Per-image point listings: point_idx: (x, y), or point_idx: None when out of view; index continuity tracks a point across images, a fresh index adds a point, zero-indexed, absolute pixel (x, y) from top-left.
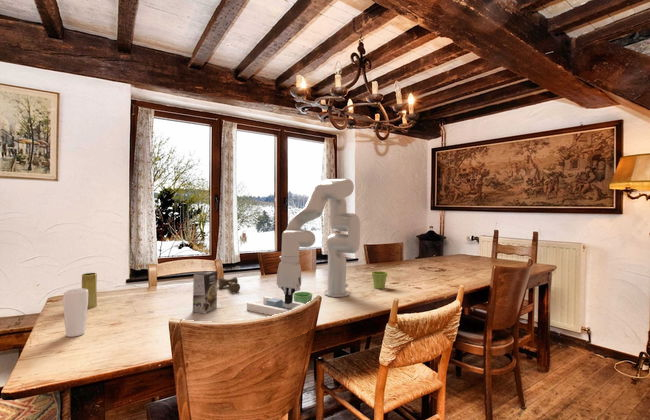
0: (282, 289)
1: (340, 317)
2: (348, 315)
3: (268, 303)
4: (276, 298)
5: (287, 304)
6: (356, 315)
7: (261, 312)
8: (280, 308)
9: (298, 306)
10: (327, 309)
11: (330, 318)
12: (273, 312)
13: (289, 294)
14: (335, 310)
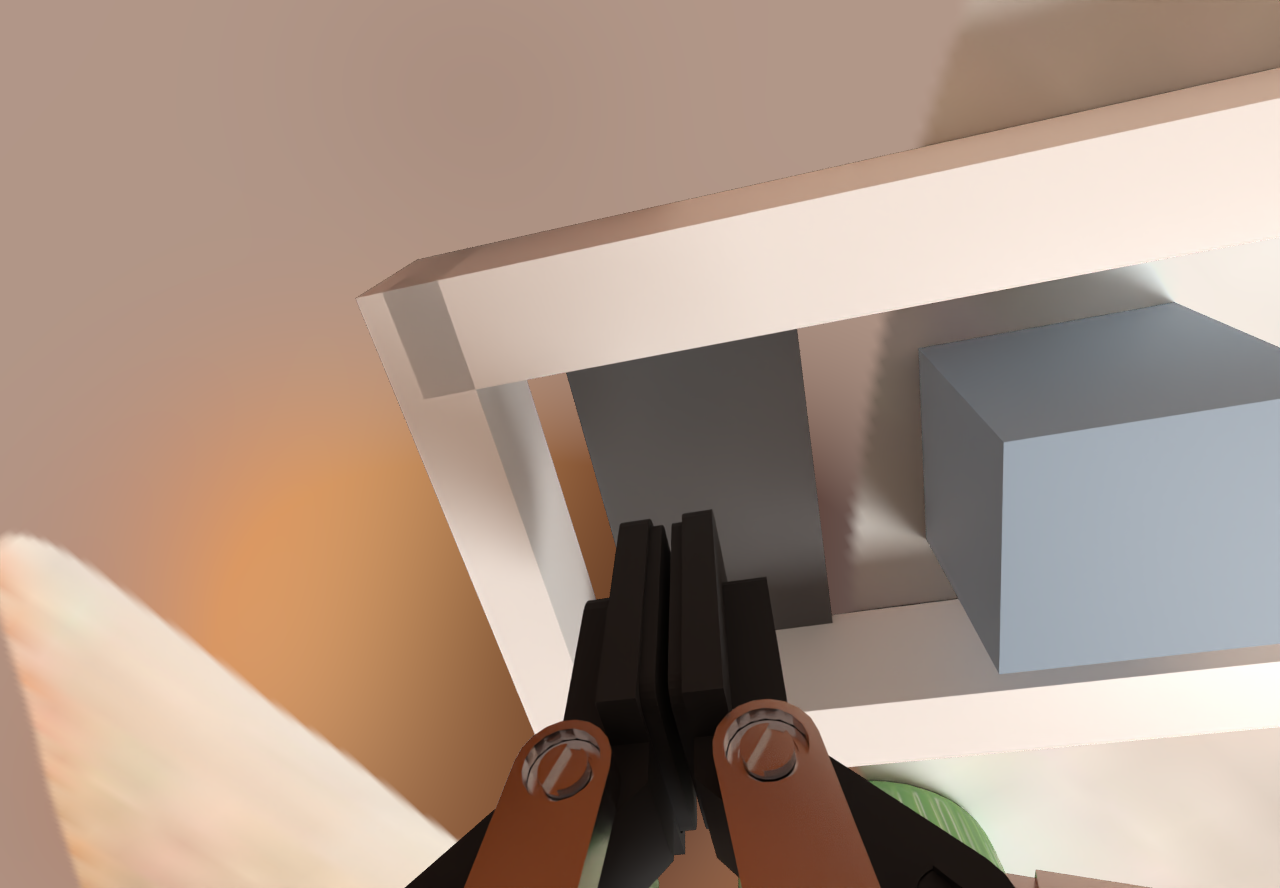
0: (956, 851)
1: (101, 758)
2: (124, 838)
3: (1220, 369)
4: (1182, 640)
5: (900, 660)
6: (85, 874)
7: (1169, 96)
8: (696, 324)
9: (535, 639)
10: (438, 854)
11: (122, 676)
12: (812, 184)
13: (576, 738)
14: (351, 873)
